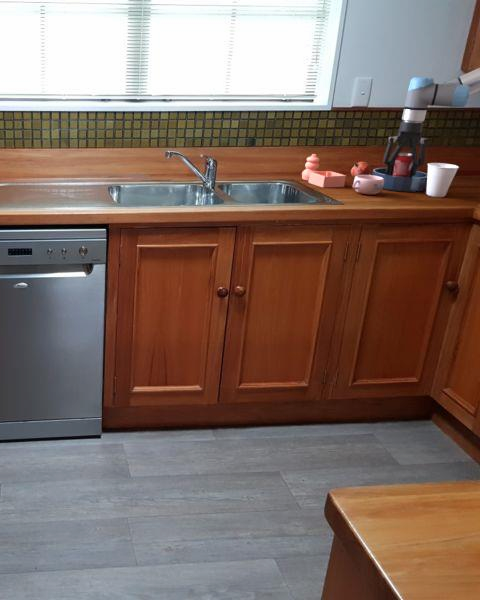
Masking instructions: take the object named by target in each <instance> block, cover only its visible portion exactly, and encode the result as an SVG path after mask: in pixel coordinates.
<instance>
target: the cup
mask: <svg viewBox="0 0 480 600" xmlns="http://www.w3.org/2000/svg"><path fill="white" fill-rule="evenodd" d="M459 168H460V166H458V165H456V164H451V163H445V162H429V163H427V174H428V177H427V185H426V191H425V194H426V195H427V196H429V197H433V198H444V197H446V196H447V193H448V191H449V188H450V186H451V184H452V182H453V180H454V178H455V176H456V174H457V172H458V169H459Z"/></svg>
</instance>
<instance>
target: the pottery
mask: <svg viewBox="0 0 480 600" xmlns="http://www.w3.org/2000/svg"><path fill="white" fill-rule="evenodd" d="M319 162H320V158H319V157H318V156H317V154H316V153H312V154H311V156H308V157H307V158H306V163H305V165H304V167H305V169H304V170H303V171H302V172H301V179H302V180H305V181H308V184H311V185H315V186H317V187H320V188H323V189H324V188H344V187H345V184H346V179H347V175H345V174H342V173H339V172H335V171H332V170H326V171H325V170H324V171H323V170H322V171H321V170H320V171H319V170H318V169H319V168H320V163H319Z"/></svg>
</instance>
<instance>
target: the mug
mask: <svg viewBox="0 0 480 600" xmlns="http://www.w3.org/2000/svg"><path fill="white" fill-rule="evenodd" d="M383 185H384V179H383V178H382V177H379V176H373V175H372V174H369V175H357V176H356V177H355V178H354V179H353V184H352V188H353V190H354V191H355V192H357V193H359V194H362V195H368V196H371V195H377V194H379V193H380V192H382V190H383V189H382V188H383Z"/></svg>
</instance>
